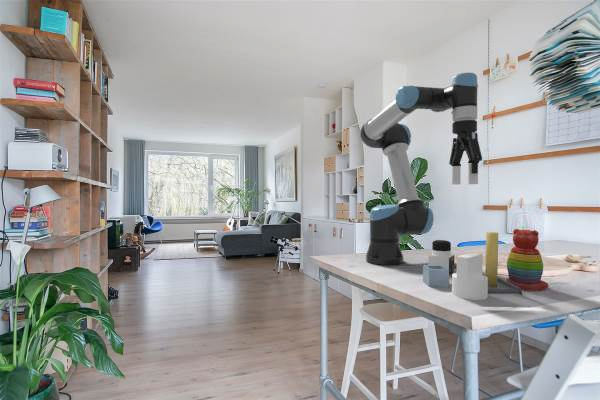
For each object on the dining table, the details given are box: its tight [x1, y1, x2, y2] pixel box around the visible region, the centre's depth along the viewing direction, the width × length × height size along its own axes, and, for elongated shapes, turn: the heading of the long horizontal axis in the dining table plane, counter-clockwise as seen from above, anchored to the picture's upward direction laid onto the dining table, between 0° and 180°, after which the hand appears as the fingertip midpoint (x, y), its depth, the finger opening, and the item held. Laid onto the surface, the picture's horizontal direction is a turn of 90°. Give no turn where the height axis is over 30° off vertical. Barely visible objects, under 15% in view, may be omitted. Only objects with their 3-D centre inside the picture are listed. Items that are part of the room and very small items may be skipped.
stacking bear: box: [506, 228, 549, 292], centre depth 106 cm, size 11×10×18 cm
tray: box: [488, 275, 523, 296], centre depth 105 cm, size 14×10×2 cm
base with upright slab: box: [451, 252, 489, 301], centre depth 97 cm, size 9×9×12 cm
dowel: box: [484, 231, 499, 287], centre depth 105 cm, size 3×3×16 cm
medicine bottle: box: [427, 239, 455, 276], centre depth 122 cm, size 7×7×12 cm
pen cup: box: [422, 264, 450, 288], centre depth 108 cm, size 6×6×6 cm
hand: (464, 184), depth 117 cm, fingers open, 13 cm apart
